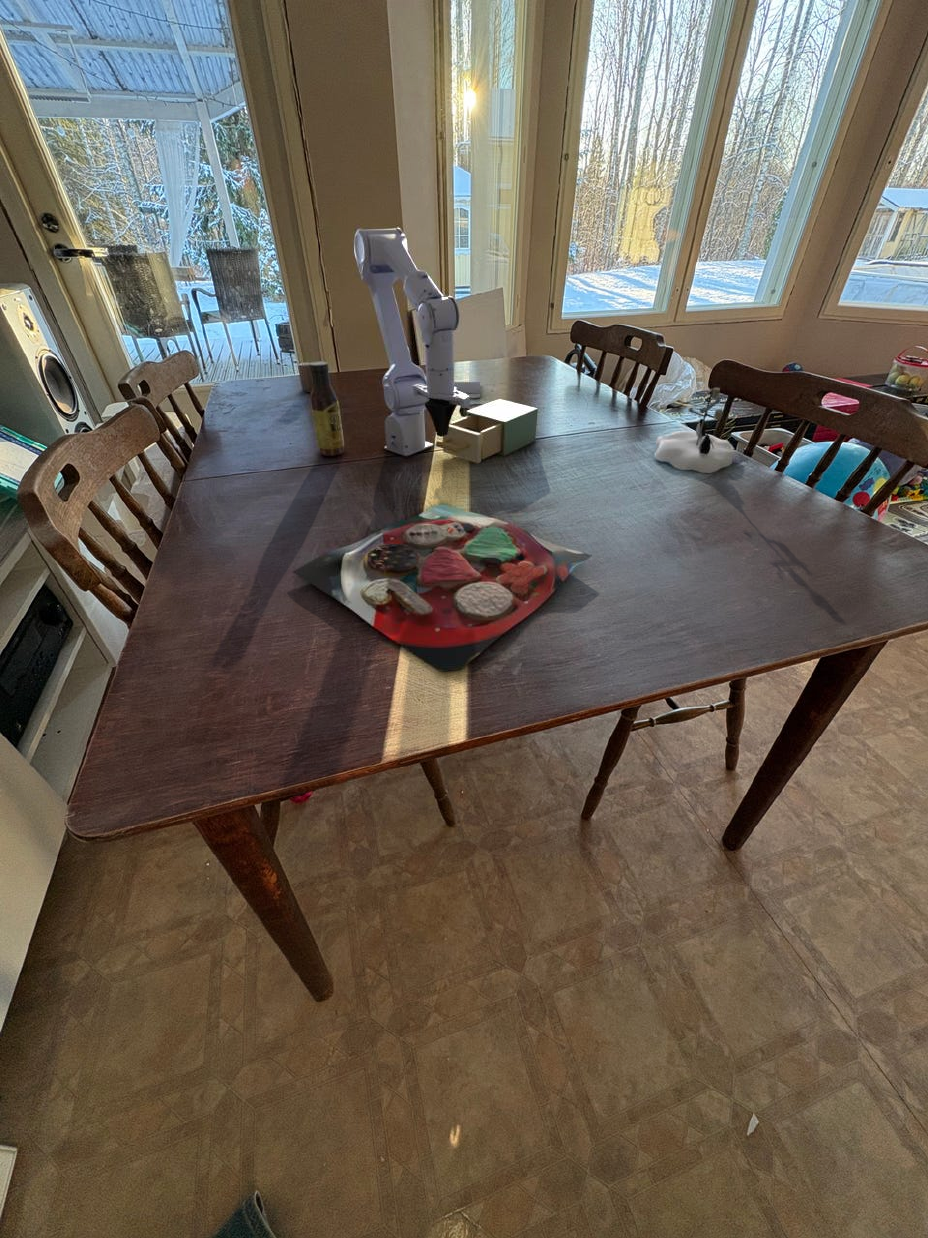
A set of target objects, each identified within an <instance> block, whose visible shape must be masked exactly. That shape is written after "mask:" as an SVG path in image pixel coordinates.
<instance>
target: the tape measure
mask: <svg viewBox="0 0 928 1238" xmlns="http://www.w3.org/2000/svg"><path fill="white" fill-rule="evenodd" d="M482 405H485V403H484V404H483V403H470V406H468V407H465V408H461V407H460V406H459V409H458V411H459V412H458V413H459V415H460V417H462V418H464V417H466V411H468V410H471V409H474V408H476V407H479V406H482Z"/></svg>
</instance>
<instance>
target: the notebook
mask: <svg viewBox="0 0 928 1238" xmlns="http://www.w3.org/2000/svg"><path fill="white" fill-rule="evenodd" d="M454 387H456V390H457V391H459V392H461V393H463V394H465V395H467V396H470V399H481V397H482V396H481V394H482V393H481V382H480V381H454Z"/></svg>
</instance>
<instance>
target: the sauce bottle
mask: <svg viewBox="0 0 928 1238" xmlns="http://www.w3.org/2000/svg"><path fill="white" fill-rule="evenodd" d="M309 363H310V364H309V367H310V371H311V374H312V380H313V385H314V386H313V389H312V392H311V393H310V397H309V398H310V405H311V415H312V419H313V424H314V425H313V426H314V431H315V437H316V442H317V447H318V449H319V453H320V455H322V456H325V457H335V456H340V455H342V454H343V453H344V452H345V439H344V432H343V426H342V418H341V411H340V404H339V399H338V397H337V395H336V393H335V391H334V389H333V386H332V384H331V381H330V374H329V364H328V362H326V361H313V362H309Z"/></svg>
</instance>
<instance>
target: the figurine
mask: <svg viewBox="0 0 928 1238" xmlns="http://www.w3.org/2000/svg"><path fill="white" fill-rule="evenodd" d="M720 392H721V388H720V387H713V388H710V389H709V390H708V391H707V392H706V395H707V396H708V397H707V398H705V400H704V401H703V403H702V405H704V404H706V405H705V407H704V406H703V407H702V408H699V412H697V411H695V410H694V409H693V408H692V407H689V408H688V410H687V411H688V412H689V413H692V414H693V415H695V416H697V417H698V416H699V417H700V418H699V420H698V421H699V422H698V424H697V426H696V429H695V431H691V430H686V429H683V430H678V431H674V432H672V433H668V434H666V435H659V436H658V437H657V438H656V441H655V446H656V447H657V449H656V451H655V452H654V459H655V460H657V461H659V462H663V463H664V462H665V463H669V464H670V465H671V466H672V467H674V469H678V470H681V471H696V472H698V473H703V474H712V473H715V472H717V471H719V470H721V469H722V468H726V467H730V466H731V465H732V463H733V461H734V459H735V458H736V457H737V454H738V453H737V451H736V449H735V448H734V446H733V445H732V444H731V443H730V442H729V441H728V440H726V439H722V438H721V439H720V438H718V437H717V436H714V435H712V434H709V433H706V431H707V424H706V422H705V421H706V418H707V417H708V418H711V419H714V420H717V421H722V416H723V414H724V411H723V409H721V408H718V409H716V410H715V411H714V413H713V415H712V414H709V413H708V412H709V411H710V410H712V408H713V407H715V406H716V405H717V404H719V403H720V402H721V401H722V400H721V398H722V397H721V396H719V395H720ZM713 399H715V400H714V401H713V402H712V403H711V401H712V400H713ZM701 417H703V418H701ZM727 447H728V448H727ZM729 448H731V449H729ZM733 449H735V450H733Z"/></svg>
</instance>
